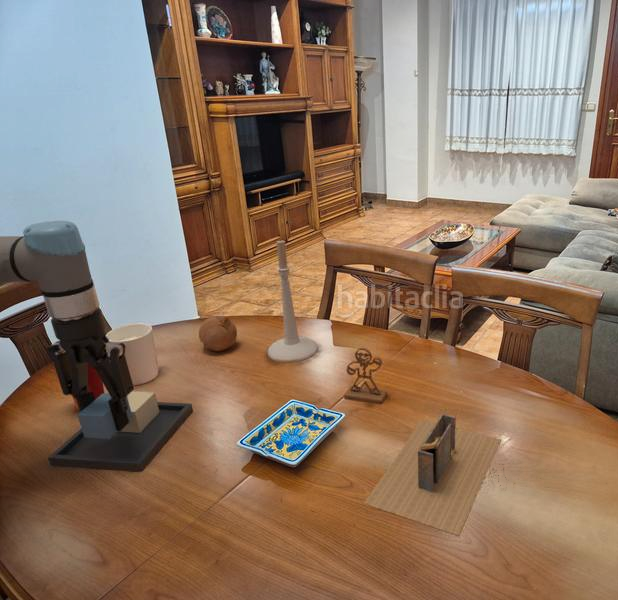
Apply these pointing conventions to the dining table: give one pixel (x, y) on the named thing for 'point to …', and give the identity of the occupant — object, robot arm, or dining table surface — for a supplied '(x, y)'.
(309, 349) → the candlestick
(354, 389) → the gingerbread man figurine
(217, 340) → the onion
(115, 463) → the tray
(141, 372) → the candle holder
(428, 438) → the architectural model on board
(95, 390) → the paper cup
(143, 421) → the cream block
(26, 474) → the dining table surface
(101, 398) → the blue block
